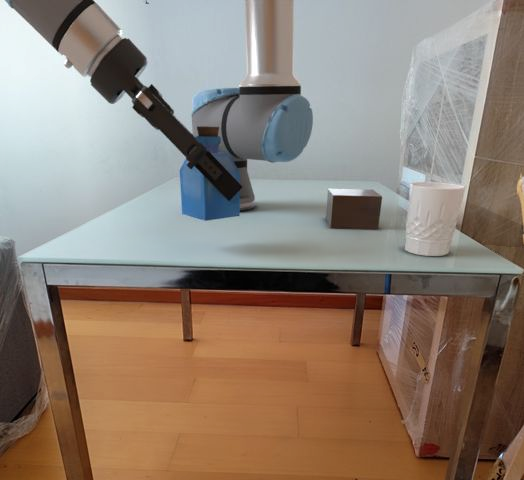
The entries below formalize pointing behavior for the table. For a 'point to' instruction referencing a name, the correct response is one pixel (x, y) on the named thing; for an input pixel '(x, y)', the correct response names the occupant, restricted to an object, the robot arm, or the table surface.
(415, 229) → the white cup
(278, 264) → the table surface
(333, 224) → the walnut block
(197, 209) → the perfume bottle
